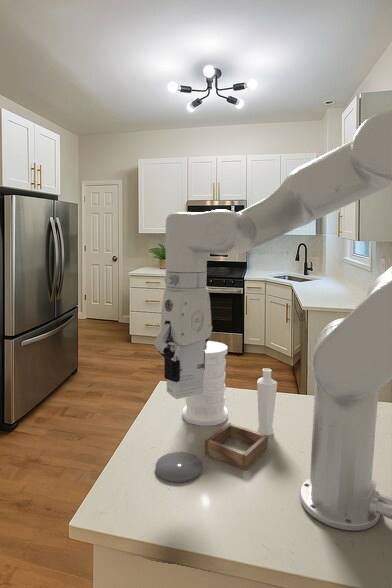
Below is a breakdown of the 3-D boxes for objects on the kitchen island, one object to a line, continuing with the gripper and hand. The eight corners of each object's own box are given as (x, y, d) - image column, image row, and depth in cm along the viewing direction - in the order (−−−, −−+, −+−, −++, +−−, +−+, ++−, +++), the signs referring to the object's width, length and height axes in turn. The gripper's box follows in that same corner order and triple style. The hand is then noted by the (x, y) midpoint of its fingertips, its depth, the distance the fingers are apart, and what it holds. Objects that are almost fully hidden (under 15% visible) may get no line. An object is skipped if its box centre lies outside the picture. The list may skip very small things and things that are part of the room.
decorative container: (176, 422, 93) (176, 351, 90) (189, 403, 104) (189, 339, 101) (223, 428, 90) (225, 354, 87) (231, 408, 101) (232, 342, 99)
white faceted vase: (251, 428, 90) (252, 367, 88) (267, 426, 91) (269, 365, 89) (260, 438, 85) (262, 374, 83) (277, 435, 87) (279, 372, 85)
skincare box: (176, 400, 69) (177, 335, 67) (165, 392, 73) (165, 330, 71) (205, 393, 72) (206, 331, 71) (192, 385, 76) (193, 326, 74)
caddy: (267, 448, 81) (268, 435, 81) (245, 470, 73) (246, 455, 73) (229, 435, 87) (229, 422, 86) (205, 453, 79) (205, 440, 79)
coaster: (211, 465, 75) (211, 461, 75) (182, 489, 68) (182, 484, 68) (175, 450, 80) (175, 447, 80) (145, 471, 73) (145, 467, 73)
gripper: (170, 287, 61) (170, 393, 63) (228, 279, 74) (226, 367, 77) (137, 283, 65) (138, 383, 67) (197, 276, 79) (196, 359, 81)
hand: (185, 373), depth 72 cm, fingers closed on skincare box, 7 cm apart
